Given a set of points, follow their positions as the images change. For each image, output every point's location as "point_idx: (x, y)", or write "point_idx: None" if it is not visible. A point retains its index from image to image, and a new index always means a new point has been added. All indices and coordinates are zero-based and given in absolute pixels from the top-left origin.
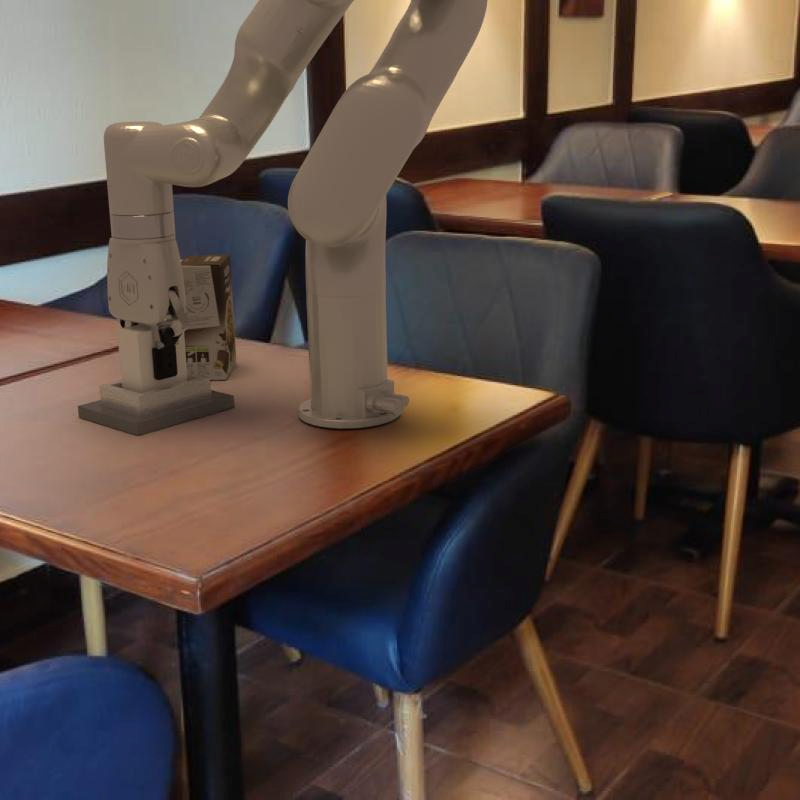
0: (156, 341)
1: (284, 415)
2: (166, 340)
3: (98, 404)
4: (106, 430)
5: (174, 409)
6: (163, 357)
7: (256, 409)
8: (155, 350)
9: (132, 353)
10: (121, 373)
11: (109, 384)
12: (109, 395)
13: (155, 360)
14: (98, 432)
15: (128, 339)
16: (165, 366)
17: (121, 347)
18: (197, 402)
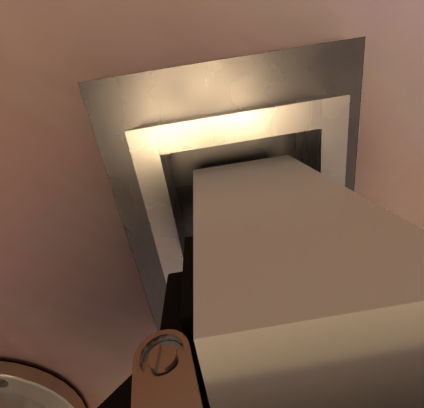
0: (181, 366)
1: (62, 354)
2: (113, 405)
3: (327, 93)
4: (190, 44)
5: (145, 218)
6: (167, 311)
7: (126, 339)
8: (180, 315)
9: (251, 223)
10: (311, 169)
11: (332, 130)
12: (284, 103)
13: (183, 278)
14: (188, 15)
15: (311, 264)
16: (167, 287)
17: (362, 215)
18: (163, 276)
